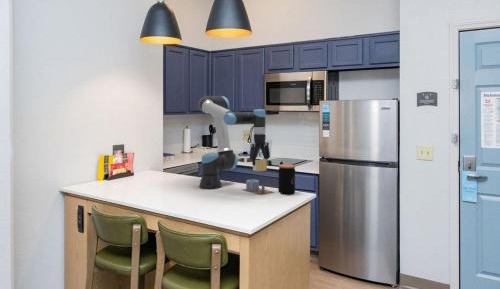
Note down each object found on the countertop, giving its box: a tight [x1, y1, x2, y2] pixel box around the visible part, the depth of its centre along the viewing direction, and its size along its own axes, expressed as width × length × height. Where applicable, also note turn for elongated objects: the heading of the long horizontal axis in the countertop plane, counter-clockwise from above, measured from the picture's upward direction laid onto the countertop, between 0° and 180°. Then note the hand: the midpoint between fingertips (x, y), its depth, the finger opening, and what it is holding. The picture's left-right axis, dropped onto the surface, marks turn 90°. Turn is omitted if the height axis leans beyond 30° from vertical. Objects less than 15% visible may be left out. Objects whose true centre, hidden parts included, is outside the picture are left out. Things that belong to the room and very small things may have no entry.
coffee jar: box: [278, 163, 296, 196], centre depth 235 cm, size 11×11×18 cm
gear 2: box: [252, 159, 268, 172], centre depth 231 cm, size 9×8×6 cm
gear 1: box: [245, 178, 260, 191], centre depth 241 cm, size 9×8×6 cm
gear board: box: [241, 184, 275, 196], centre depth 237 cm, size 20×12×6 cm, turn 42°
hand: (260, 169), depth 231 cm, fingers closed on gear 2, 8 cm apart
